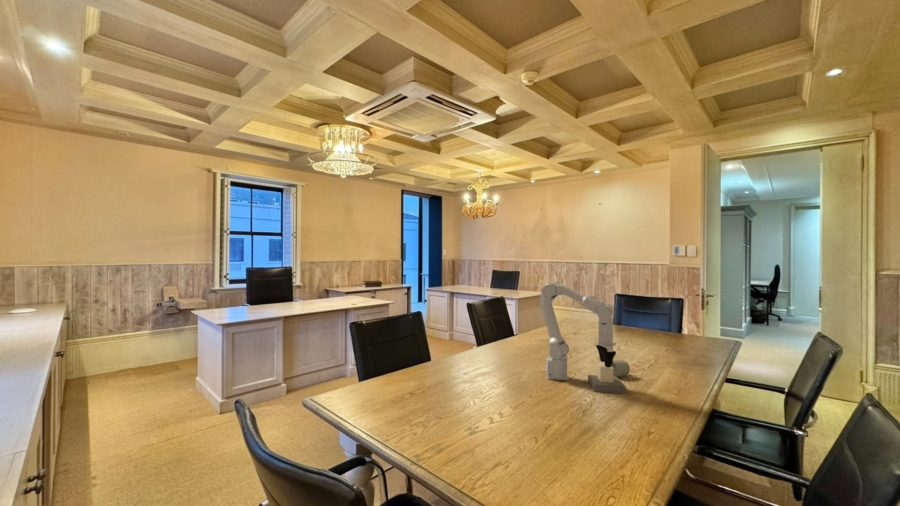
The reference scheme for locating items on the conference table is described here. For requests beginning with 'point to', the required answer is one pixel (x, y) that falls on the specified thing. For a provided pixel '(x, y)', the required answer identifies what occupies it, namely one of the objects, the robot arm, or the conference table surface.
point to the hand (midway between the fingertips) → (605, 364)
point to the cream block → (605, 373)
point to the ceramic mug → (620, 368)
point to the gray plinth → (606, 385)
